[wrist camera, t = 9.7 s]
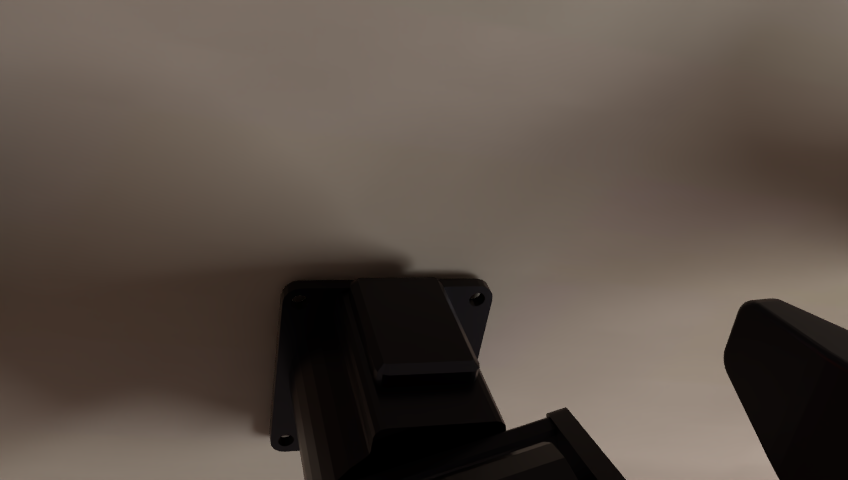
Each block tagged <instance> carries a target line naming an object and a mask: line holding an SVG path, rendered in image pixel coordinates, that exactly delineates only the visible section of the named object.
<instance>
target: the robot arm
mask: <svg viewBox="0 0 848 480" xmlns="http://www.w3.org/2000/svg"><path fill="white" fill-rule="evenodd" d="M475 293H480V295H479V296H478V297H476V298H473V299H470V298H471V296H472V295H474V294H475ZM300 295H301V296H305V297H306V298H305V299H304V300H302V301H299V302H296V301H293V300H292V299H293V298H294V297H296V296H300ZM491 302H492V293H491V291H490V289H489V287H488V285H487V283H486V282H484V281H483V280H480V279H436V278H359V279H357V280H311V281H294V282H291V283H289V284H288V285H286V286H285V288H284V289H283V290H282V293H281V301H280V313H279V324H278V336H277V348H276V360H275V372H274V384H273V395H272V407H271V419H270V431H269V434H270V442H271V446H272V447H273V448H274V449H275V450H278V451H284V452H286V451H300V455H301V461H302V467H303V473H304V479H305V480H626V479H625V478H624V477H623V476H622V474H621V473H620V472H619V471H618V470H617V468H616V467H615V466H614V465H613V463H612V462H611V461H610V460H609V459H608V457H607V456H606V455H605V454H604V453H603V451H602V450H601V449H600V448H599V446H598V445H597V444H596V443H595V442H594V440H593V439H592V438H591V437H590V436H589V434H588V433H587V432H586V431H585V429H584V428H583V427H582V426H581V425H580V423H579V422H578V421H577V420H576V419H575V417H574V416H573V415H572V414H571V412H570V411H569V410H568V409H567V408H562V409H559V410H556V411H553V412H550V413H547V414H546V417H547V418H544V419H541V420H538V421H535V422H532V423H529V424H526V425H523V426H520V427H516V428H513V429H510V430H507V431H506V425H505V423H504V421H503V419H502V416H501V414H500V412H499V410H498V408H497V406H496V403H495V401H494V399H493V397H492V395H491V393H490V390H489V388H488V386H487V384H486V382H485V380H484V377H483V375H482V373H481V371H480V369H479V368H480V367H479V362H478V355H479V351H480V347H481V343H482V339H483V335H484V331H485V327H486V323H487V319H488V315H489V310H490V306H491ZM724 365H725V369H726V372H727V374H728V376H729V378H730V380H731V382H732V384H733V386H734V388H735V391H736V393H737V395H738V397H739V399H740V401H741V403H742V405H743V407H744V409H745V411H746V413H747V415H748V418H749V420H750V422H751V424H752V426H753V428H754V430H755V432H756V434H757V436H758V438H759V440H760V442H761V444H762V447H763V449H764V451H765V453H766V455H767V457H768V459H769V461H770V463H771V465H772V467H773V469H774V471H775V472H776V474H777V476H778V478H779V480H848V330H846V329H844V328H842V327H840V326H838V325H835V324H833V323H831V322H829V321H826V320H824V319H822V318H820V317H817V316H815V315H813V314H811V313H808V312H806V311H804V310H802V309H799V308H797V307H795V306H793V305H791V304H788V303H786V302H784V301H782V300H779V299H773V298H772V299H760V300H750V301H747V302H745V303H744V304H743V305H742V306H741V307H740V309H739V311H738V313H737V316H736V319H735V322H734V325H733V327H732V330H731V333H730V336H729V339H728V342H727V344H726V347H725V351H724ZM283 435H289V436H288V437H281V436H283Z"/></svg>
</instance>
